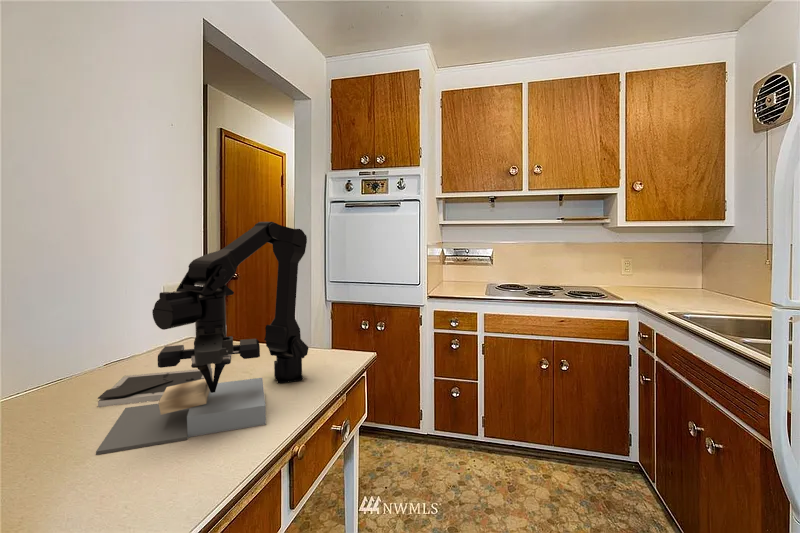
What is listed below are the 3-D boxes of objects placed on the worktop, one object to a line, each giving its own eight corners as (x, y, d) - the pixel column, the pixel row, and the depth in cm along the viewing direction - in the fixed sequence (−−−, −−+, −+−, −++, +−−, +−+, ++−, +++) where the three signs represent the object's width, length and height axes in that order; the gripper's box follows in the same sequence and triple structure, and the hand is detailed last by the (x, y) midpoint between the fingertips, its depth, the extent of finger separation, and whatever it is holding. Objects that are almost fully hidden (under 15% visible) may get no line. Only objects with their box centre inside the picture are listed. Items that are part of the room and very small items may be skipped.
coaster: (210, 388, 86) (208, 377, 85) (206, 403, 78) (204, 392, 78) (169, 398, 83) (166, 387, 83) (160, 414, 75) (158, 402, 75)
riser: (262, 393, 94) (262, 377, 93) (265, 424, 79) (265, 405, 79) (197, 402, 89) (196, 385, 88) (187, 437, 74) (186, 416, 73)
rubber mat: (198, 400, 90) (197, 398, 89) (187, 439, 73) (186, 436, 73) (125, 410, 84) (125, 407, 84) (96, 454, 68) (95, 451, 68)
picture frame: (98, 410, 86) (202, 399, 92) (97, 397, 86) (201, 387, 92) (124, 383, 101) (212, 375, 107) (123, 373, 101) (212, 365, 107)
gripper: (149, 332, 70) (153, 416, 71) (260, 324, 77) (261, 400, 78) (161, 319, 80) (164, 392, 81) (258, 313, 87) (259, 380, 88)
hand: (213, 391), depth 82 cm, fingers closed
